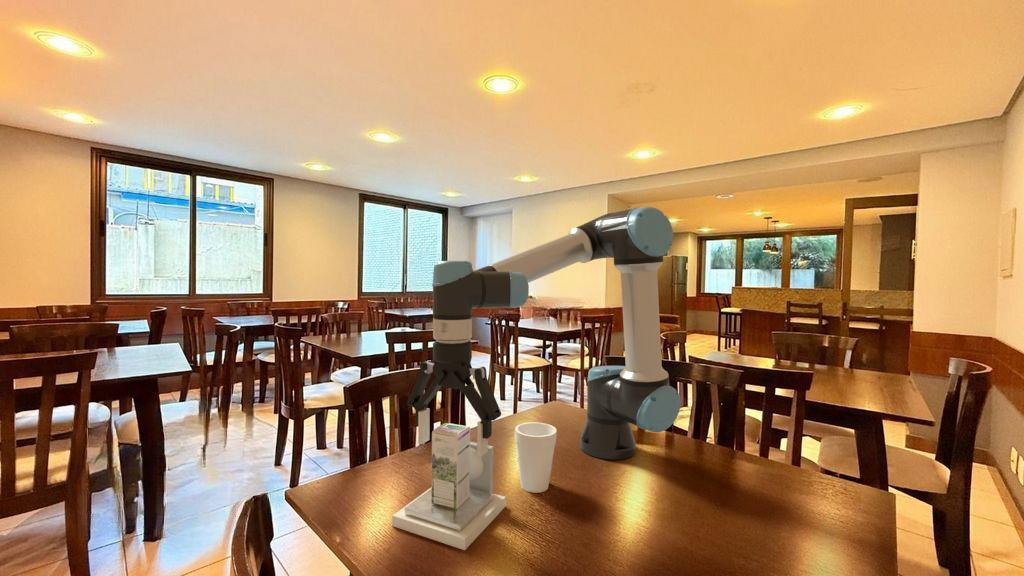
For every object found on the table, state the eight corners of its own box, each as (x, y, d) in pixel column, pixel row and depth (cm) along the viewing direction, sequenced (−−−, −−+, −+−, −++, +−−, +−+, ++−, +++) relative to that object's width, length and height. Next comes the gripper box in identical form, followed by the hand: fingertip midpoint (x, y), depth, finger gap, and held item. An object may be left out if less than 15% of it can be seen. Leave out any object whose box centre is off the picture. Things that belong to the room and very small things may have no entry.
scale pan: (492, 498, 87) (492, 493, 87) (460, 530, 76) (460, 525, 76) (442, 485, 93) (442, 480, 93) (404, 513, 82) (404, 508, 82)
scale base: (505, 506, 89) (506, 449, 89) (464, 550, 74) (465, 481, 74) (441, 488, 96) (441, 435, 95) (392, 526, 81) (392, 463, 81)
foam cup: (552, 498, 92) (554, 438, 92) (510, 493, 94) (511, 434, 94) (557, 478, 102) (558, 424, 101) (518, 474, 103) (519, 420, 103)
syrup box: (470, 496, 86) (471, 425, 86) (456, 511, 81) (457, 435, 80) (445, 491, 88) (446, 421, 88) (429, 505, 83) (430, 430, 82)
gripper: (389, 338, 86) (389, 443, 86) (501, 348, 75) (500, 468, 76) (413, 333, 92) (413, 431, 93) (518, 342, 82) (518, 452, 82)
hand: (452, 448), depth 84 cm, fingers open, 13 cm apart
